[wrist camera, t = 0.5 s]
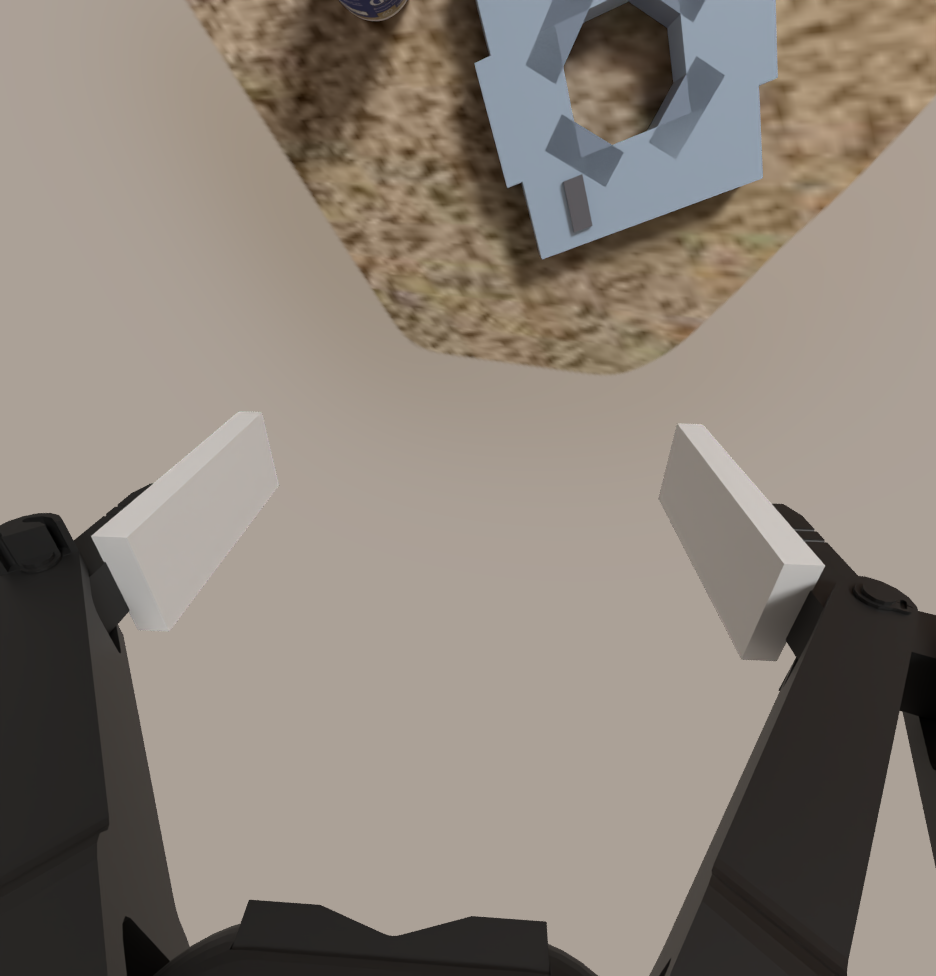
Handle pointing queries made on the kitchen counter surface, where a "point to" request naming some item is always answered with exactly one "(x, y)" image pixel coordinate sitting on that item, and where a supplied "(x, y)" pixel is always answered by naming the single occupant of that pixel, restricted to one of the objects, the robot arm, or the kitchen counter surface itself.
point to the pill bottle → (374, 8)
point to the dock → (642, 158)
